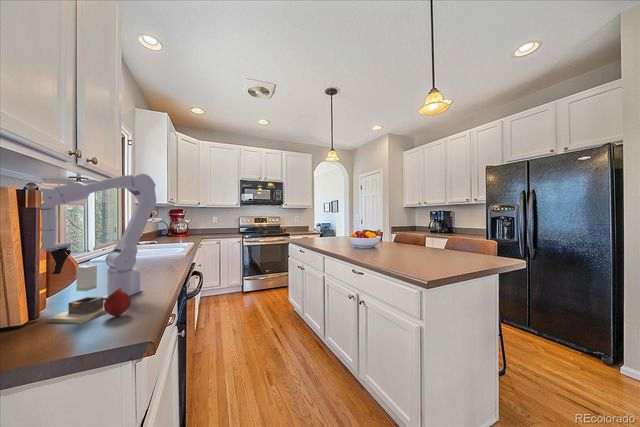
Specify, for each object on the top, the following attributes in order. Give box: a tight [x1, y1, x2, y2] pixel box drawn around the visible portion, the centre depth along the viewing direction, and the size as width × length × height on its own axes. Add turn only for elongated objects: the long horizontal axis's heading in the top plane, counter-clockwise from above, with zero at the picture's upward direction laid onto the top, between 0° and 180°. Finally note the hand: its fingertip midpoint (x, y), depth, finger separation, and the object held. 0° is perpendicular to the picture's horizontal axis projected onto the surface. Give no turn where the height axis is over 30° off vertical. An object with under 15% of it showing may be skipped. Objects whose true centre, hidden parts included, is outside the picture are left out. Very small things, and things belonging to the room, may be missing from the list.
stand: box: [45, 296, 108, 324], centre depth 71 cm, size 12×10×4 cm
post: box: [75, 264, 98, 292], centre depth 72 cm, size 3×3×7 cm
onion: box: [103, 288, 132, 317], centre depth 70 cm, size 6×6×8 cm
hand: (41, 276), depth 72 cm, fingers open, 7 cm apart
